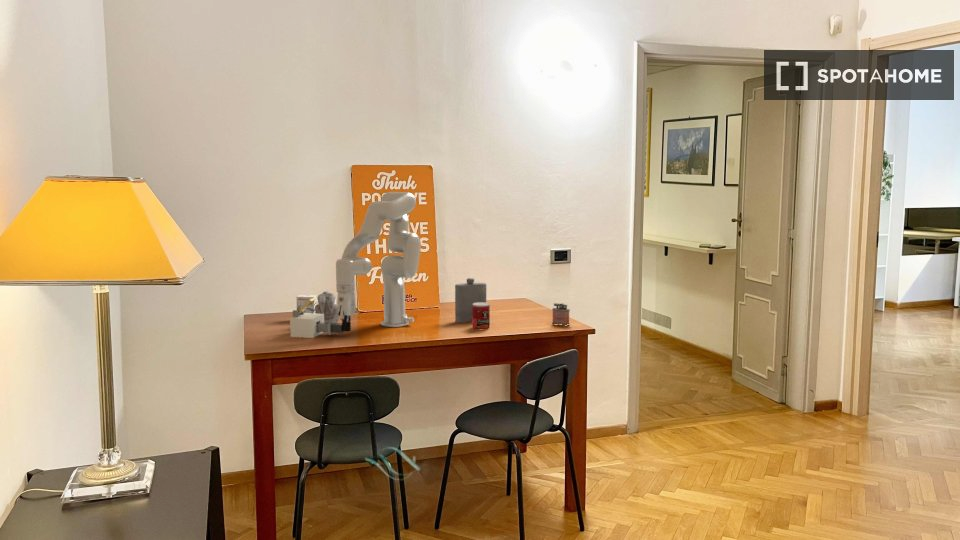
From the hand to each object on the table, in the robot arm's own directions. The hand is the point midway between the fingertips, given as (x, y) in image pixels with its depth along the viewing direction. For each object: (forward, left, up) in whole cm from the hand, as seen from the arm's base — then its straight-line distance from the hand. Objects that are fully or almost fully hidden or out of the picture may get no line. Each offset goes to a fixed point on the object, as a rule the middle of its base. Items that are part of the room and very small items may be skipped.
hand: (346, 330), depth 316 cm
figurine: (+17, -18, -3) cm, 25 cm away
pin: (+11, 0, -1) cm, 11 cm away
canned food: (-52, -28, -3) cm, 59 cm away
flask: (-44, -42, -3) cm, 61 cm away
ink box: (+31, -27, -3) cm, 41 cm away
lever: (+18, 0, +9) cm, 20 cm away
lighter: (-86, -42, -3) cm, 96 cm away
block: (+18, 0, -2) cm, 18 cm away
